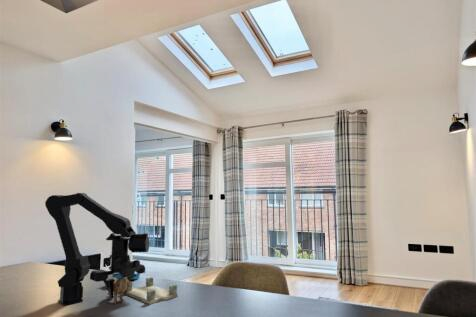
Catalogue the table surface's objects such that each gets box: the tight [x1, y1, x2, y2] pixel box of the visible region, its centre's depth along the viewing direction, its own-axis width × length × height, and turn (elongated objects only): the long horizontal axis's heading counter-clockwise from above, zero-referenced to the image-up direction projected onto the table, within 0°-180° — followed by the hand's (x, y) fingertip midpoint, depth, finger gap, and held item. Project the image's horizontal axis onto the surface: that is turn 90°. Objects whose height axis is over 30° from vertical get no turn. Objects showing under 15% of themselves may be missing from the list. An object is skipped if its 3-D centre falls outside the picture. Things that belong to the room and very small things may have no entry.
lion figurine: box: [107, 277, 133, 304], centre depth 118 cm, size 15×5×9 cm, turn 46°
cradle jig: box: [125, 276, 178, 305], centre depth 124 cm, size 12×19×4 cm, turn 47°
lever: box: [104, 272, 141, 289], centre depth 140 cm, size 7×7×18 cm
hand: (117, 296), depth 116 cm, fingers closed on lion figurine, 4 cm apart
